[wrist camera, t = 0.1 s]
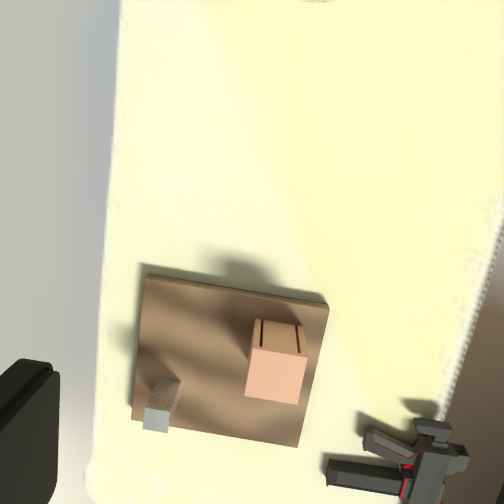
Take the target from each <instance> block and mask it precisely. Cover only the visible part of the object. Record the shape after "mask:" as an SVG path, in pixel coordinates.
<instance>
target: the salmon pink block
mask: <svg viewBox="0 0 504 504" xmlns="http://www.w3.org/2000/svg"><path fill="white" fill-rule="evenodd" d="M260 330H261V319H257V318H256V319H255V325H254V330H253V336H252V341H251V347H250V352H249V358H248V366H247V375H246V384H245V393H244V396H248V397H254V398H260V399H266V400H272V401H278V402H283V403H289V404H295V405H297V404H298V399H299V395H300V390H301V386H302V381H303V377H304V373H305V368H306V364H307V359H308V356H307V349H306V342H305V336H304V329H303V326H297V331H295V325H292V324H286V323H280V322H274V321H269V320H264V322H263V333H262V347H260Z"/></svg>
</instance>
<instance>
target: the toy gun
mask: <svg viewBox="0 0 504 504" xmlns="http://www.w3.org/2000/svg"><path fill="white" fill-rule="evenodd" d="M413 422H414V425H415V428H416V430H418V431H419V432H420V433H422V434H427V435H430V436H423V435H419V436H418V439H417V442H416V445H415V446H414V447H411V446H409V445H407V444H405V443H403V442H401V441H399V440H397V439H395V438H393V437H391V436H388V435H386V434H384V433H382V432H380V431H378V430H376V429H374V428H372V426H366V427H365V432H364V437H363V442H362V444H363V450H364V451H369V452H372V453H374V454H376V455H379V456H381V457H383V458H386V459H388V460H390V461H393V462H395V463H397V464H398V465H399V470H397V469H390V468H384V467H378V466H372V465H366V464H359V463H353V462H346V461H338V460H331V459H329V463H328V469H327V474H326V485H327V486H328V485H333V486H339V487H345V488H351V489H357V490H363V491H369V492H375V493H381V494H388V495H394V496H399V498H400V499H401V498H404V502H405V504H442V503H440V502H441V496H442V493H443V490H444V487H445V482H444V479H445V476H446V475H452V474H453V473H455V472H461V471H465V470H466V467H467V465H468V461H469V459H470V456H469V454H468V452H467V450H466V448H465V446H464V445H460V444H452V443H448V441H447V439H448V438H451V435H452V431H453V430H452V427H451V425H450V423H448V422H442V421H435V420H429V419H422V418H414V421H413ZM400 464H404V466H403V465H402V466H401V467H400Z"/></svg>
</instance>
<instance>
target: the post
mask: <svg viewBox="0 0 504 504" xmlns="http://www.w3.org/2000/svg"><path fill="white" fill-rule="evenodd" d="M180 386H181V381H176V380H171V379H165V378H158V380H157V382H156V385H155V387H154V389H153V391H152V393H151V395H150V398H149V400H148V402H147V404H146V406H145V411H144V420H143V429H147V430H153V431H158V432H164V433H167V432H168V430H169V427H170V424H171V421H172V418H173V415H174V412H175V409H176V407H177V404H178V401H179V394H180Z"/></svg>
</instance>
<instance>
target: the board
mask: <svg viewBox="0 0 504 504" xmlns="http://www.w3.org/2000/svg"><path fill="white" fill-rule="evenodd" d="M329 311H330V310H329V306H328V304H323V303H317V302H311V301H305V300H299V299H293V298H287V297H281V296H276V295H270V294H264V293H258V292H252V291H246V290H240V289H235V288H229V287H223V286H217V285H211V284H205V283H199V282H193V281H188V280H182V279H176V278H170V277H164V276H158V275H152V274H148V275H147V276H146V278H145V281H144V291H143V301H142V311H141V322H140V332H139V342H138V352H137V363H136V373H135V383H134V394H133V404H132V414H131V420H136V421H142V422H143V420H144V411H145V406H146V404H147V402H148V400H149V398H150V395H151V393H152V391H153V389H154V387H155V385H156V382H157V380H158V378H165V379H171V380H176V381H181V386H180V394H179V401H178V404H177V407H176V409H175V412H174V415H173V418H172V421H171V424H170V426H172V427H177V428H183V429H189V430H195V431H201V432H207V433H213V434H218V435H224V436H230V437H236V438H242V439H248V440H254V441H260V442H265V443H271V444H277V445H283V446H289V447H295V448H297V447H298V443H299V439H300V435H301V430H302V426H303V422H304V418H305V413H306V409H307V405H308V400H309V396H310V392H311V388H312V383H313V379H314V375H315V370H316V366H317V362H318V358H319V353H320V349H321V345H322V340H323V336H324V332H325V328H326V323H327V319H328V315H329ZM256 318H257V319H261V330H260V347H262V333H263V322H264V320H269V321H274V322H280V323H286V324H292V325H295V331H297V326H303V329H304V336H305V342H306V349H307V356H308V359H307V364H306V368H305V373H304V377H303V381H302V386H301V390H300V395H299V399H298V404H297V405H295V404H289V403H283V402H278V401H272V400H266V399H260V398H254V397H248V396H244V393H245V384H246V375H247V366H248V358H249V352H250V347H251V341H252V336H253V330H254V325H255V319H256Z"/></svg>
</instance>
